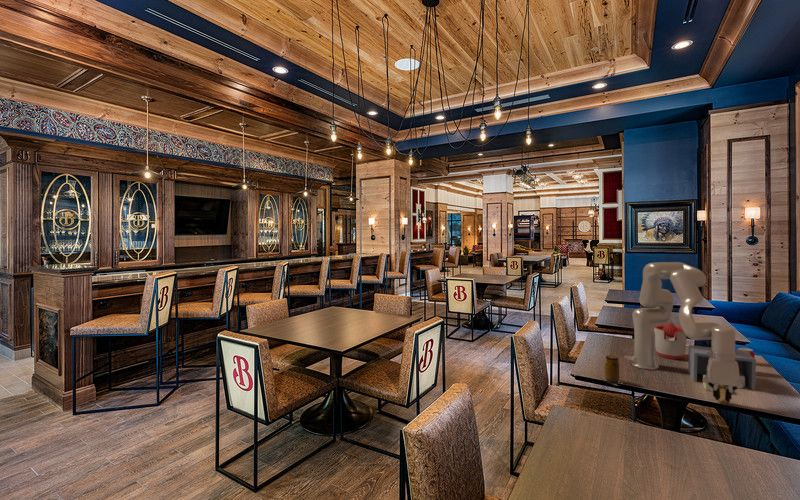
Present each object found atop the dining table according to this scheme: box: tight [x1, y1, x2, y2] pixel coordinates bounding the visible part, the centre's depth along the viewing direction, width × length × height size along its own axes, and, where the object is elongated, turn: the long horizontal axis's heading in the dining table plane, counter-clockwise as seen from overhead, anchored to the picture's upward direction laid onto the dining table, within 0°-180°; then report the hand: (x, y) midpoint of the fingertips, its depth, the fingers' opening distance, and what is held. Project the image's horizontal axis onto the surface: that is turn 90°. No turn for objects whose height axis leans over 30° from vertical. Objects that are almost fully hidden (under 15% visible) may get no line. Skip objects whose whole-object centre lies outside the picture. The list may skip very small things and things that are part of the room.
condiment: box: [604, 354, 620, 386], centre depth 181 cm, size 7×8×12 cm
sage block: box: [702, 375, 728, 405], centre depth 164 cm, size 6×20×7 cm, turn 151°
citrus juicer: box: [653, 322, 687, 360], centre depth 216 cm, size 16×17×20 cm
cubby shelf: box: [687, 344, 757, 391], centre depth 180 cm, size 22×14×14 cm, turn 61°
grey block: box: [739, 372, 746, 388], centre depth 177 cm, size 6×6×5 cm
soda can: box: [737, 347, 756, 359], centre depth 191 cm, size 7×7×12 cm
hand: (722, 399), depth 157 cm, fingers closed on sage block, 3 cm apart
